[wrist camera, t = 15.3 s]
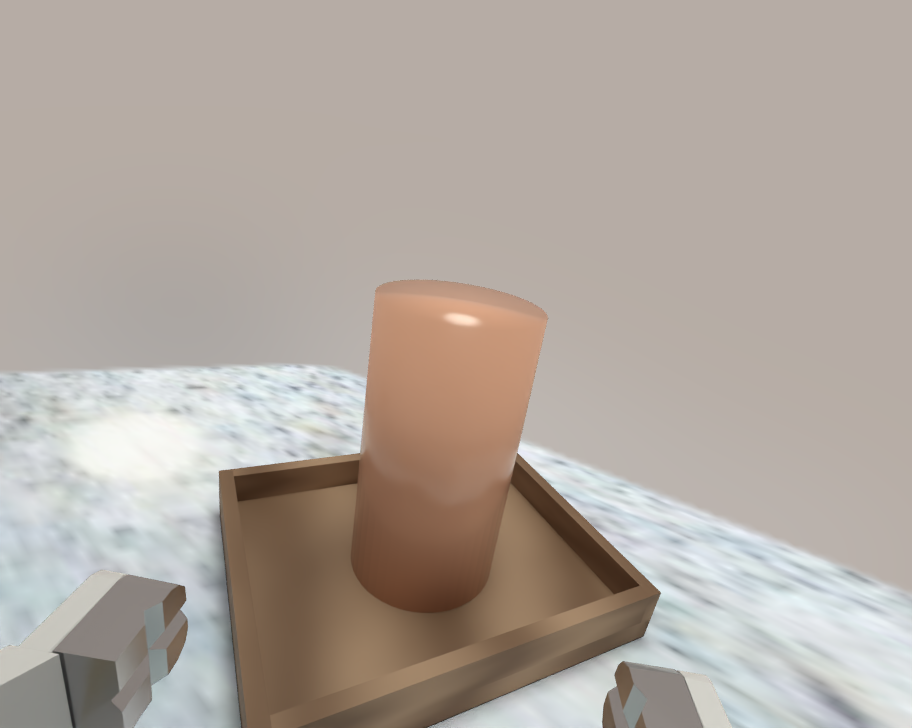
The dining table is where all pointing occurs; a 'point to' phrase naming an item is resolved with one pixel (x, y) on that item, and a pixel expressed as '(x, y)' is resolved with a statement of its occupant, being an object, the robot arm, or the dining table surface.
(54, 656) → the robot arm
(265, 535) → the tray
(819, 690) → the dining table surface
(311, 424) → the dining table surface
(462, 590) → the peach cylinder
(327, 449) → the dining table surface
